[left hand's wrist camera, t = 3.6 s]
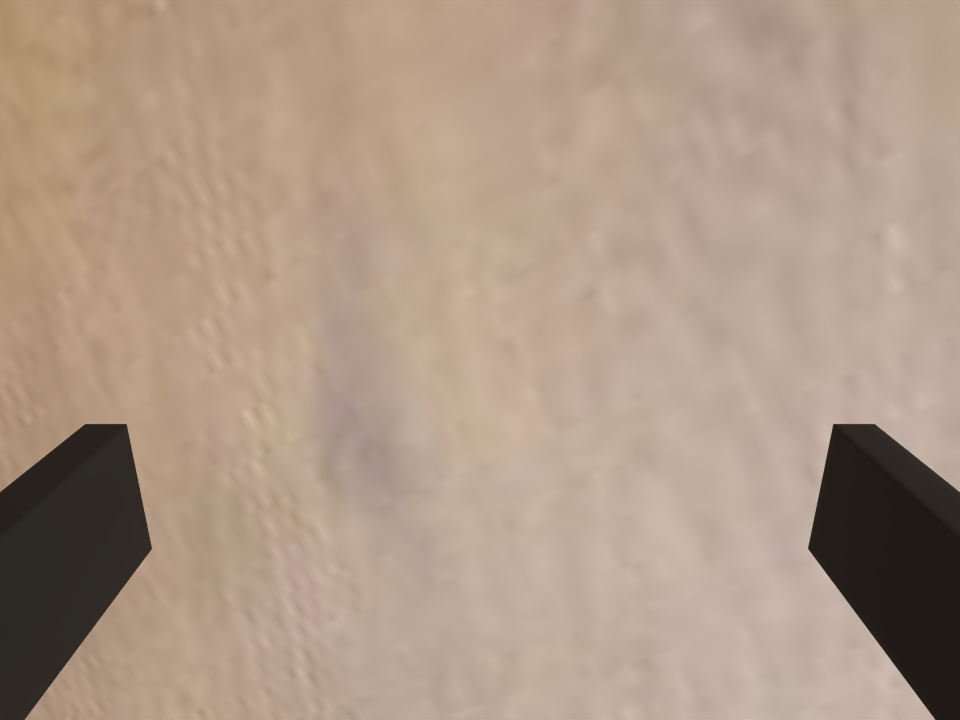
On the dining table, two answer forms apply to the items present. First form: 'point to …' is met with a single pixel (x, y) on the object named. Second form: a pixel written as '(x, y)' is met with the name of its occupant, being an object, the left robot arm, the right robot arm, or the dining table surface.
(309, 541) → the dining table surface
